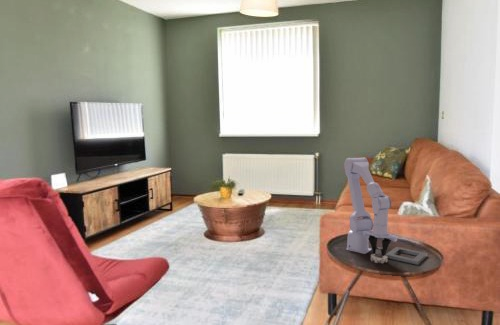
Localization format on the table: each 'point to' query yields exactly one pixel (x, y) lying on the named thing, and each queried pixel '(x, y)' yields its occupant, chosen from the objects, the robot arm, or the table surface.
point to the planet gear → (378, 256)
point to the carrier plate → (418, 259)
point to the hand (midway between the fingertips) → (379, 254)
